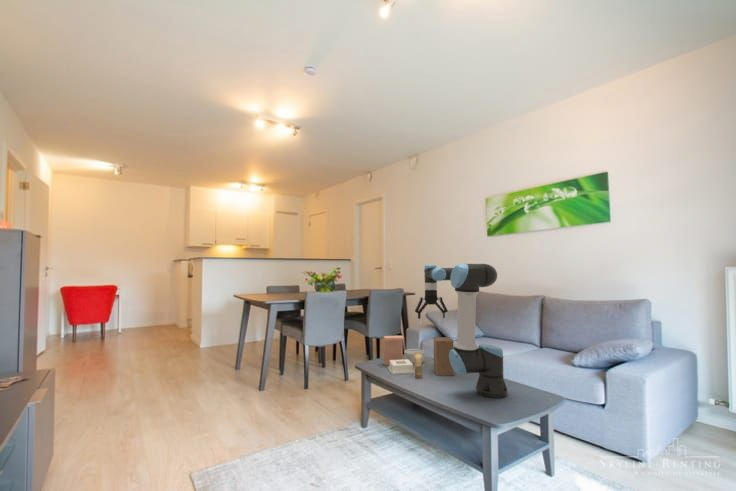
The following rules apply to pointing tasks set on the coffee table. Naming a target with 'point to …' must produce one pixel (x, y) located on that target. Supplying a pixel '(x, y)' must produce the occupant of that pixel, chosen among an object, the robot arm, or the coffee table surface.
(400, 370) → the socket
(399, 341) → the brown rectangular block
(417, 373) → the peg
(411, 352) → the ramekin
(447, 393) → the coffee table surface
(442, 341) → the wooden block
